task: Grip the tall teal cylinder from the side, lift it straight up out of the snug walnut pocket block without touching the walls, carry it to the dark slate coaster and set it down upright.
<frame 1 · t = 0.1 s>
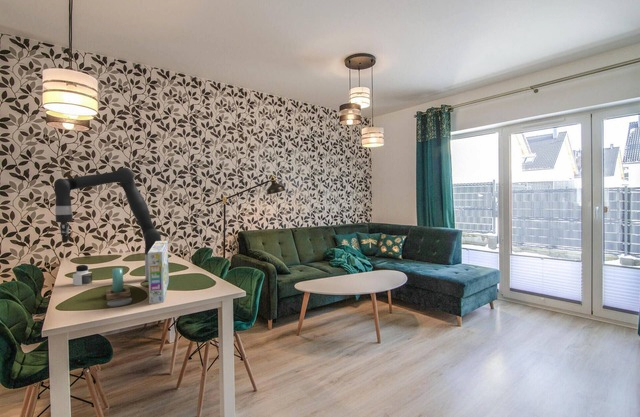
hand: (65, 241, 184), 29 cm above the table, tool pointing down, fingers open, 8 cm apart
coaster: (119, 302, 165), on the table
medicine bottle: (82, 284, 201), on the table
pocket block: (118, 295, 178), on the table
tall teal cylinder: (117, 282, 177), in the pocket block
game box: (159, 292, 183), on the table
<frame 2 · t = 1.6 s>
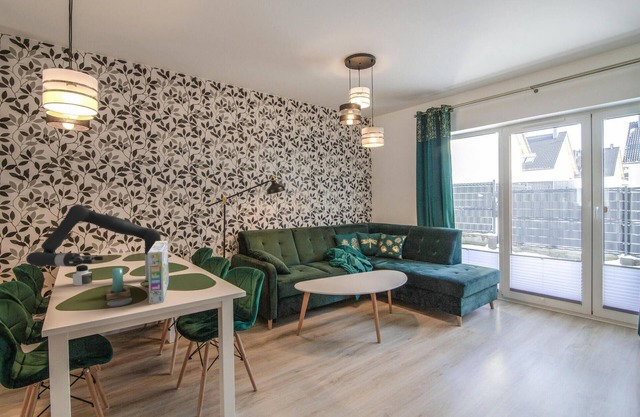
hand: (97, 259, 177), 20 cm above the table, tool horizontal, fingers open, 8 cm apart
nothing on the table moved.
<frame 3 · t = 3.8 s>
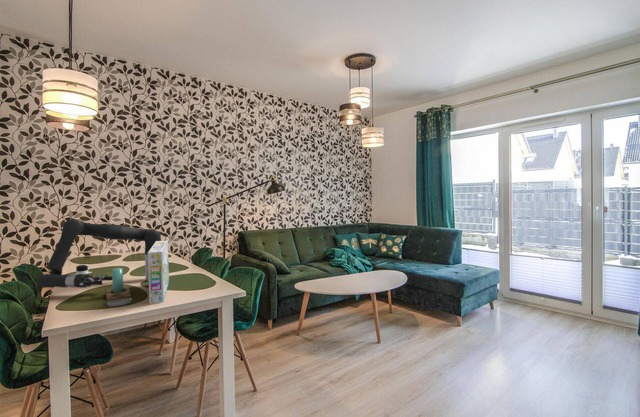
hand: (107, 280, 177), 8 cm above the table, tool horizontal, fingers open, 8 cm apart
nothing on the table moved.
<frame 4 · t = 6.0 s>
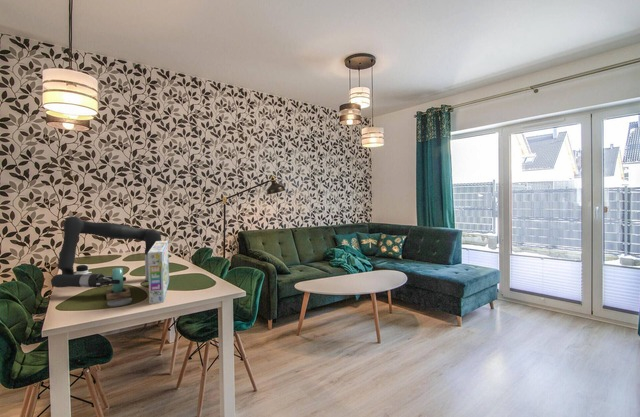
hand: (122, 280, 177), 9 cm above the table, tool horizontal, fingers closed on tall teal cylinder, 5 cm apart
tall teal cylinder: (117, 282, 177), in the pocket block, touching gripper
everything else where it was.
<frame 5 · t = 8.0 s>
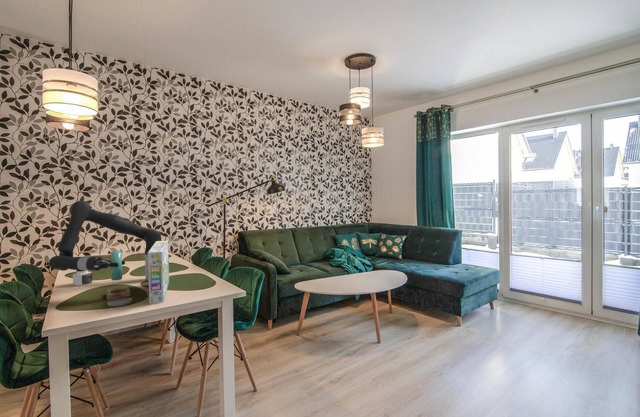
hand: (121, 263, 173), 19 cm above the table, tool horizontal, fingers closed on tall teal cylinder, 5 cm apart
tall teal cylinder: (116, 265, 173), point 18 cm above the table, touching gripper
everything else where it was.
when the fingers open (11 cm above the table, at t = 10.5 s): tall teal cylinder drops 1 cm, resting on coaster.
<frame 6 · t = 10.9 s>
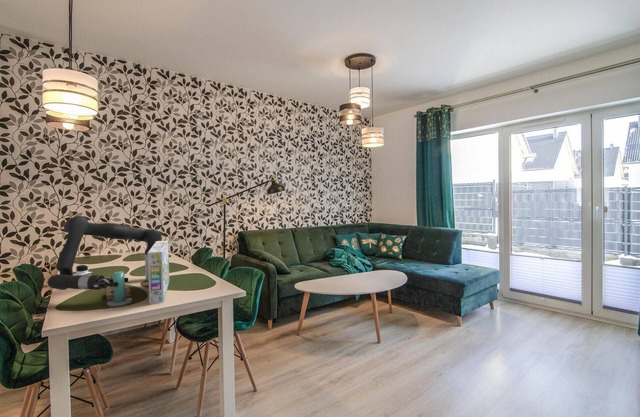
hand: (123, 282, 165), 11 cm above the table, tool horizontal, fingers open, 8 cm apart
tall teal cylinder: (119, 286, 165), on the coaster, point 8 cm above the table
everything else where it was.
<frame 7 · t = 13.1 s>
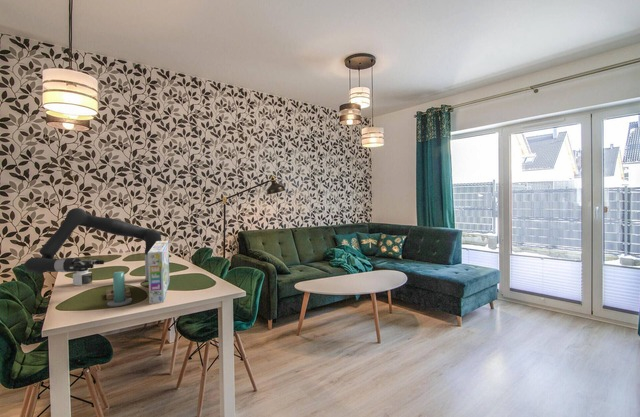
hand: (98, 264, 170), 19 cm above the table, tool horizontal, fingers open, 8 cm apart
nothing on the table moved.
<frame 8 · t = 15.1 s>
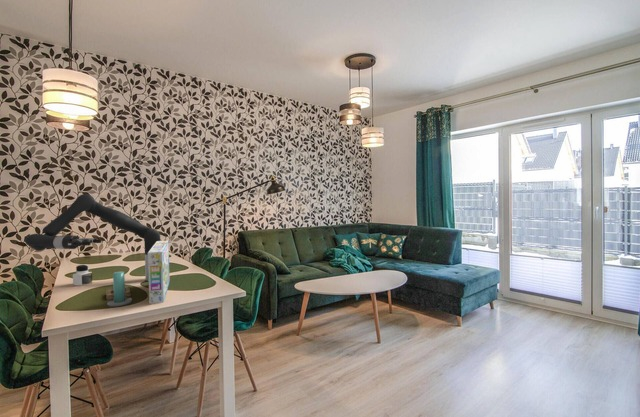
hand: (95, 242, 176), 30 cm above the table, tool horizontal, fingers open, 8 cm apart
nothing on the table moved.
at the end: tall teal cylinder inside the target area on the coaster (0.1 cm from its centre), point 8.5 cm above the coaster's base; tall teal cylinder tilted 0°; the gripper is holding nothing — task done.
